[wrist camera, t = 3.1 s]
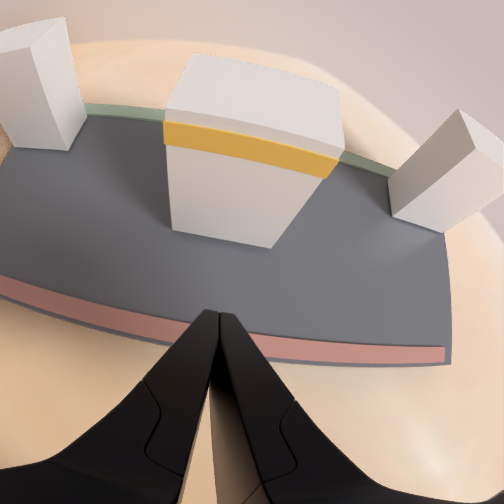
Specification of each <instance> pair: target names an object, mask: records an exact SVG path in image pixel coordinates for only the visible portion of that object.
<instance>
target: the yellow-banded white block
mask: <svg viewBox="0 0 504 504" xmlns="http://www.w3.org/2000/svg"><path fill="white" fill-rule="evenodd" d="M163 134H164V144H166V153H167V171H168V186H169V199H170V211H171V222H172V230H175V231H181V232H186V233H191V234H196V235H202V236H207V237H212V238H218V239H223V240H228V241H233V242H238V243H244V244H249V245H254V246H259V247H264V248H270V249H271V248H272V247H273V246H274V244H275V243H276V242H277V240H278V239H279V238H280V236H281V235H282V234H283V232H284V231H285V230H286V228H287V227H288V226H289V224H290V223H291V222H292V220H293V219H294V218H295V216H296V215H297V214H298V212H299V211H300V210H301V208H302V207H303V206H304V204H305V203H306V201H307V200H308V199H309V197H310V196H311V195H312V193H313V192H314V191H315V189H316V188H317V187H318V185H319V184H320V183H321V181H322V180H323V179H326V178H327V177H328V175H329V174H330V173H331V172H332V170H333V169H334V168H335V166H336V165H337V164H338V162H339V157H340V155H341V154H342V153H343V151H344V150H345V142H344V132H343V123H342V115H341V107H340V99H339V92H338V88H337V87H334V86H331V85H328V84H326V83H323V82H320V81H316V80H313V79H310V78H307V77H304V76H300V75H297V74H293V73H290V72H286V71H282V70H279V69H275V68H271V67H267V66H263V65H258V64H254V63H249V62H244V61H239V60H234V59H229V58H223V57H217V56H211V55H204V54H197V53H193V55H192V57H191V59H190V60H189V62H188V64H187V66H186V68H185V69H184V71H183V73H182V75H181V77H180V79H179V81H178V83H177V85H176V87H175V89H174V90H173V92H172V94H171V96H170V99H169V101H168V103H167V105H166V107H165V118H164V121H163Z"/></svg>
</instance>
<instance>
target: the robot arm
mask: <svg viewBox="0 0 504 504" xmlns="http://www.w3.org/2000/svg"><path fill="white" fill-rule="evenodd" d="M208 387H209V402H210V420H211V435H212V449H213V462H214V474H215V485H216V495H217V504H504V490H502V491H500V492H499V493H497V494H496V495H495V496H493V497H491V498H490V499H488V500H487V501H484V502H478V503H462V502H454V501H447V500H440V499H434V498H429V497H424V496H419V495H414V494H409V493H405V492H401V491H397V490H393V489H389V488H387V487H385V486H382V485H381V484H379V483H377V482H375V481H374V480H372V479H371V478H370V477H368V476H367V475H366V474H365V473H364V472H363V471H362V470H360V469H359V468H358V467H357V466H356V465H355V464H354V463H353V462H352V461H351V460H350V459H349V458H348V457H347V456H346V455H345V454H344V453H343V452H342V451H341V450H340V449H338V448H337V447H336V446H335V445H334V444H333V443H332V442H331V441H330V440H329V438H328V437H327V436H326V435H325V434H324V433H323V432H322V431H321V430H320V429H319V428H318V427H317V426H316V424H315V423H314V422H313V421H312V420H311V418H310V417H309V416H308V415H307V413H306V412H305V411H304V410H303V408H302V407H301V406H300V404H299V403H298V402H297V401H296V400H295V398H294V396H293V395H292V394H291V392H290V391H289V390H288V388H287V387H286V386H285V384H284V383H283V382H282V380H281V379H280V377H279V376H278V375H277V373H276V372H275V371H274V369H273V368H272V366H271V365H270V364H269V362H268V361H267V359H266V358H265V357H264V355H263V354H262V352H261V351H260V350H259V348H258V347H257V345H256V344H255V342H254V341H253V340H252V338H251V337H250V335H249V334H248V332H247V331H246V329H245V328H244V327H243V325H242V324H241V322H240V321H239V319H238V318H237V316H236V315H235V314H233V313H227V312H220V313H219V312H218V311H215V310H209V309H204V310H203V311H202V312H201V313H200V314H199V315H198V316H197V318H196V319H195V320H194V321H193V322H192V323H191V324H190V325H189V327H188V328H187V329H186V330H185V331H184V332H183V333H182V335H181V336H180V337H179V338H178V339H177V340H176V341H175V342H174V344H173V345H172V346H171V347H170V348H169V349H168V350H167V352H166V353H165V354H164V355H163V356H162V357H161V358H160V359H159V361H158V362H157V363H156V364H155V365H154V366H153V367H152V368H151V370H150V371H149V372H148V373H147V374H146V375H145V376H144V377H143V379H142V380H141V381H140V382H139V383H138V384H137V385H136V386H135V387H134V389H133V390H132V391H131V392H130V393H129V394H128V395H127V396H126V397H125V398H124V399H123V400H122V401H121V402H120V403H119V404H118V405H117V406H116V407H115V408H114V409H112V410H111V411H110V412H109V413H108V414H107V415H106V416H105V417H103V418H102V419H101V420H100V421H99V422H97V423H96V424H95V425H94V426H92V427H91V428H90V429H89V430H87V431H86V432H85V433H84V434H82V435H81V436H80V437H79V438H77V439H76V440H75V441H74V442H72V443H71V444H70V445H69V446H67V447H66V448H65V449H63V450H62V451H61V452H59V453H58V454H56V455H54V456H52V457H50V458H48V459H46V460H43V461H40V462H36V463H32V464H27V465H22V466H16V467H11V468H5V469H0V504H181V502H182V498H183V493H184V489H185V485H186V480H187V476H188V472H189V468H190V463H191V459H192V455H193V450H194V446H195V442H196V438H197V434H198V429H199V425H200V421H201V417H202V413H203V409H204V404H205V400H206V396H207V392H208ZM294 400H295V401H294Z"/></svg>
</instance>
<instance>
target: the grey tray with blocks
mask: <svg viewBox="0 0 504 504" xmlns="http://www.w3.org/2000/svg"><path fill="white" fill-rule="evenodd" d="M164 118H165V110H160V109H151V108H142V107H132V106H120V105H106V104H85V103H83V99H82V95H81V91H80V88H79V84H78V80H77V76H76V71H75V67H74V63H73V58H72V53H71V49H70V44H69V39H68V33H67V27H66V21H65V17H58V18H53V19H48V20H42V21H38V22H33V23H29V24H24V25H20V26H16V27H13V28H9V29H6V30H3V31H2V32H0V124H1V126H2V127H3V129H4V131H5V133H6V134H7V136H8V138H9V139H10V141H11V143H12V144H13V145H12V147H11V149H10V151H9V152H8V154H7V156H6V158H5V160H4V161H3V163H2V165H1V167H0V298H1V299H4V300H6V301H9V302H11V303H14V304H17V305H19V306H22V307H25V308H28V309H31V310H33V311H36V312H39V313H42V314H45V315H48V316H51V317H54V318H58V319H61V320H64V321H67V322H71V323H74V324H77V325H81V326H84V327H88V328H91V329H95V330H99V331H103V332H106V333H110V334H114V335H118V336H122V337H127V338H131V339H135V340H140V341H144V342H149V343H153V344H158V345H163V346H168V347H171V346H172V345H173V344H174V342H175V341H176V340H177V339H178V338H179V337H180V336H181V335H182V333H183V332H184V331H185V330H186V329H187V328H188V327H189V325H190V324H191V323H192V322H193V321H194V320H195V319H196V318H197V316H198V315H199V314H200V313H201V312H202V311H203V310H204V309H209V310H215V311H218V312H219V313H220V312H227V313H233V314H235V315H236V316H237V318H238V319H239V321H240V322H241V324H242V325H243V327H244V328H245V329H246V331H247V332H248V334H249V335H250V337H251V338H252V340H253V341H254V342H255V344H256V345H257V347H258V348H259V350H260V351H261V352H262V354H263V355H264V357H265V358H266V359H267V361H268V362H278V363H289V364H302V365H317V366H336V367H423V366H439V365H450V364H451V351H452V314H451V293H450V279H449V268H448V259H447V251H446V243H445V236H444V232H445V231H446V230H448V229H450V228H451V227H453V226H454V225H456V224H458V223H459V222H461V221H463V220H464V219H466V218H467V217H469V216H470V215H472V214H474V213H475V212H477V211H478V210H480V209H481V208H483V207H484V206H486V205H487V204H489V203H490V202H492V201H494V200H495V199H497V198H498V197H499V196H501V195H502V194H504V143H503V142H502V141H501V140H500V139H499V138H497V137H496V136H495V135H494V134H492V133H491V132H490V131H489V130H487V129H486V128H485V127H483V126H482V125H481V124H480V123H478V122H477V121H475V120H474V119H473V118H471V117H470V116H468V115H467V114H466V113H464V112H463V111H461V110H460V109H457V110H456V111H455V112H454V113H453V114H452V115H451V116H450V117H449V118H448V119H447V121H446V122H445V123H444V124H443V125H442V126H441V127H440V128H439V129H438V130H437V131H436V132H435V133H434V134H433V135H432V136H431V137H430V138H429V139H428V140H427V141H426V142H425V143H424V144H423V145H422V146H421V147H420V148H419V149H418V150H417V151H416V152H415V153H414V154H413V155H412V156H411V157H410V158H409V159H408V160H407V161H406V162H405V163H404V164H403V165H402V166H401V167H400V168H399V169H398V170H395V169H393V168H390V167H388V166H385V165H382V164H380V163H377V162H374V161H372V160H369V159H366V158H363V157H360V156H357V155H355V154H352V153H349V152H346V151H343V153H342V154H341V155H340V157H339V162H338V164H337V165H336V166H335V168H334V169H333V170H332V172H331V173H330V174H329V175H328V177H327V178H326V179H323V180H322V181H321V183H320V184H319V185H318V187H317V188H316V189H315V191H314V192H313V193H312V195H311V196H310V197H309V199H308V200H307V201H306V203H305V204H304V206H303V207H302V208H301V210H300V211H299V212H298V214H297V215H296V216H295V218H294V219H293V220H292V222H291V223H290V224H289V226H288V227H287V228H286V230H285V231H284V232H283V234H282V235H281V236H280V238H279V239H278V240H277V242H276V243H275V244H274V246H273V247H272V248H271V249H270V248H264V247H259V246H254V245H249V244H244V243H238V242H233V241H228V240H223V239H218V238H212V237H207V236H202V235H196V234H191V233H186V232H181V231H175V230H172V222H171V211H170V199H169V186H168V171H167V153H166V144H164V134H163V121H164Z"/></svg>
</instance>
